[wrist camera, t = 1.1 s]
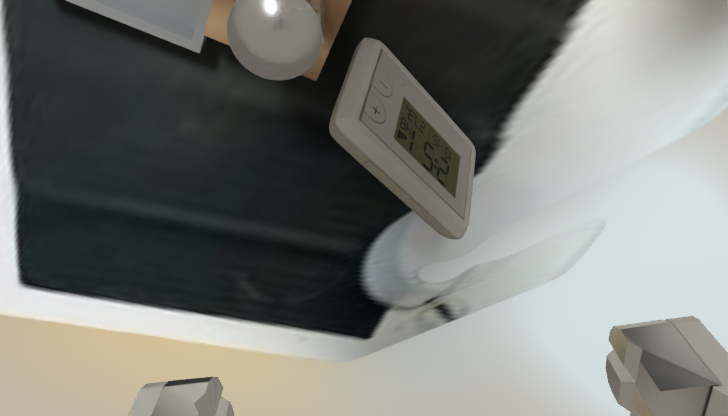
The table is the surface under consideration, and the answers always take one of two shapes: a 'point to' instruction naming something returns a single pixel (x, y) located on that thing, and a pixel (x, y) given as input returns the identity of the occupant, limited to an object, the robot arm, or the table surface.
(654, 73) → the table surface
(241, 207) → the table surface
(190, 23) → the tray
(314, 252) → the table surface
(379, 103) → the digital clock
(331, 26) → the stand
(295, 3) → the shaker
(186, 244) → the table surface
